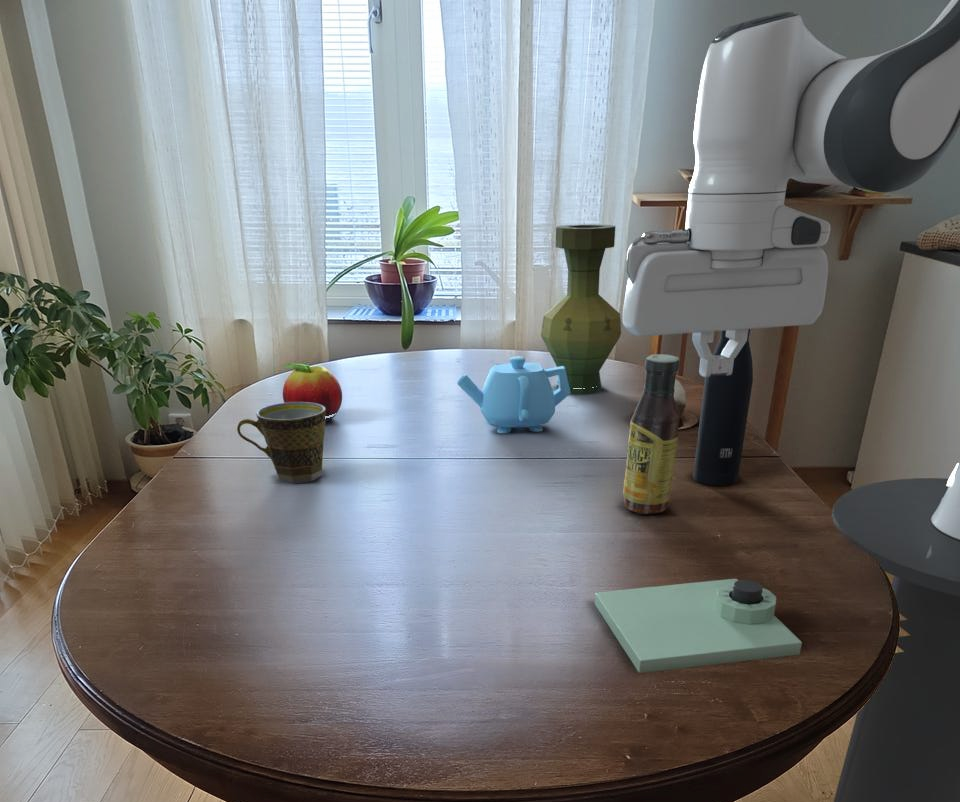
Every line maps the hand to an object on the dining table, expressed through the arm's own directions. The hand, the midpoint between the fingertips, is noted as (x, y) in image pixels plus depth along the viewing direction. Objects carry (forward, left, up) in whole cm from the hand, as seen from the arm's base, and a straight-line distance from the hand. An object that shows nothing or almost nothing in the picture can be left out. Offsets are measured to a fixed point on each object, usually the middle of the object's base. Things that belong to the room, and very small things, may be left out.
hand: (715, 375), depth 85 cm
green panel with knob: (+6, +15, -21) cm, 27 cm away
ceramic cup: (+47, -41, -22) cm, 66 cm away
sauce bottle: (-1, -17, -22) cm, 27 cm away
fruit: (+43, -73, -22) cm, 88 cm away
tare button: (+1, +15, -19) cm, 24 cm away
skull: (-19, -57, -22) cm, 64 cm away
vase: (-11, -84, -22) cm, 88 cm away
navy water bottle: (-15, -26, -22) cm, 37 cm away
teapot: (+8, -60, -22) cm, 64 cm away
